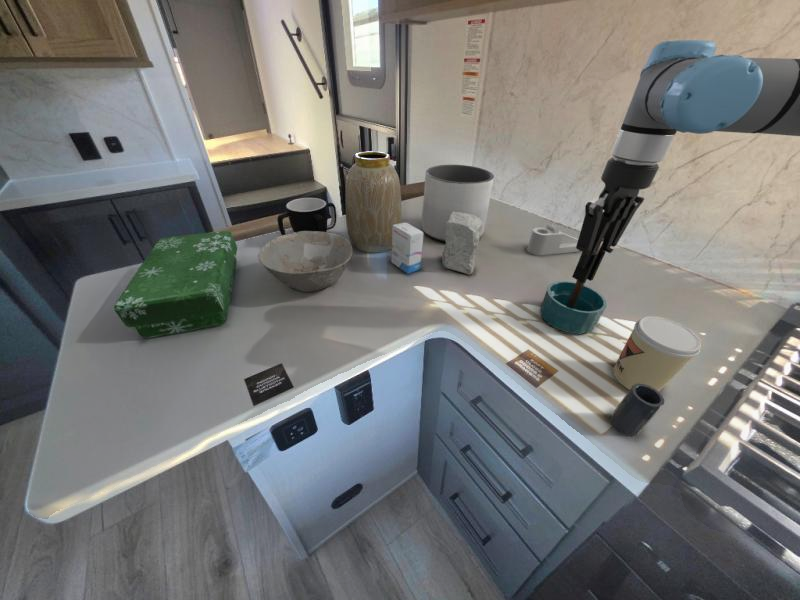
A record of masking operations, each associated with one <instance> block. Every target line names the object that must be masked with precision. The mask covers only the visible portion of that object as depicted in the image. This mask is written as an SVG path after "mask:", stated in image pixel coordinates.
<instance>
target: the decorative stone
mask: <svg viewBox="0 0 800 600" xmlns="http://www.w3.org/2000/svg"><path fill="white" fill-rule="evenodd" d="M482 226H483V223H482V222H481V219H480V218H477V217H476V216H475V215H471V214H466V213H460V212H454V211H453V212H452V214H451V215H450V218H449V220H448V221H447V223H446V237H447V238H446V240H445V241H446V242H445V245H444V247H443V251H442V256H441V260H442V265H443V267H444V269H449V270H453V271H456V272H459V273H462V274H466V275H469V276H470V275H472V273H473V272H474V270H475V266H476V251H477V249H478V246H479V241H480V239H481V237H480V234H481V230H482Z"/></svg>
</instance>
